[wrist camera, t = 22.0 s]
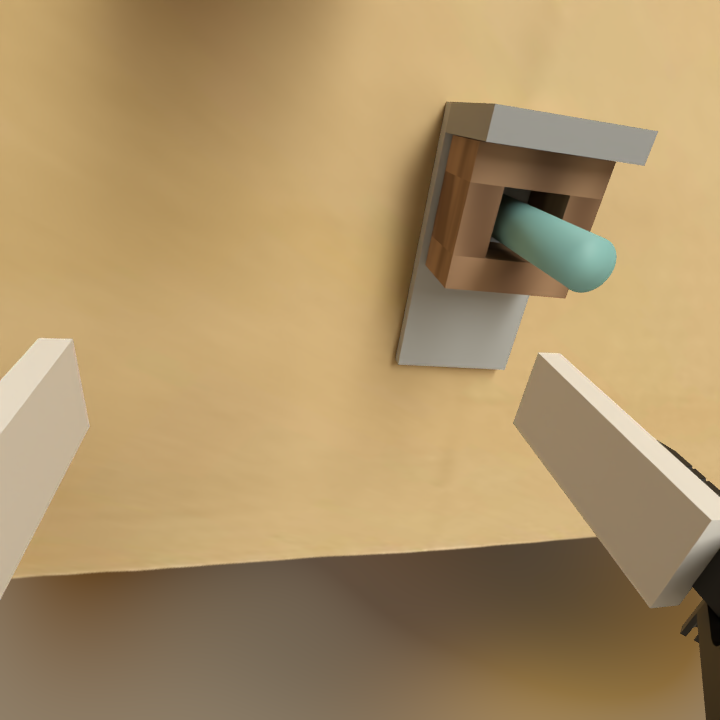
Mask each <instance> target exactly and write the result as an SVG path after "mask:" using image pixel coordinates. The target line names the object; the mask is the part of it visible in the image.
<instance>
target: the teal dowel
mask: <svg viewBox="0 0 720 720" xmlns="http://www.w3.org/2000/svg"><path fill="white" fill-rule="evenodd" d="M491 237H493V238H494V239H496V240H497V241H499V242H500V243H502V244H503V245H505V246H506V247H508V248H509V249H511V250H512V251H514V252H515V253H516V254H518V255H519V256H521V257H522V258H524V259H525V260H527V261H528V262H530V263H531V264H533V265H534V266H536V267H537V268H539V269H540V270H542V271H543V272H545V273H546V274H548V275H549V276H551V277H552V278H554V279H555V280H557V281H558V282H560V283H561V284H562V285H564V286H565V287H567V288H568V289H570V290H572V291H574V292H580V293H582V292H588V291H591V290H594V289H596V288H597V287H599V286H600V285H602V284H603V283H604V282H605V281H606V280H607V279H608V277H609V276H610V275H611V273H612V271H613V269H614V267H615V263H616V250H615V248H614V246H613V244H612V243H611V242H610V241H608V240H607V239H605V238H602V237H600V236H598V235H596V234H593V233H591V232H589V231H587V230H584V229H582V228H580V227H578V226H575V225H573V224H571V223H569V222H566V221H564V220H562V219H560V218H557V217H555V216H553V215H551V214H548V213H546V212H544V211H542V210H539V209H537V208H535V207H533V206H530V205H528V204H526V203H524V202H521V201H519V200H517V199H515V198H512V197H510V196H508V195H505V194H503V195H502V199H501V202H500V206H499V210H498V213H497V217H496V221H495V224H494V228H493V232H492V235H491Z"/></svg>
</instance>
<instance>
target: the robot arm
mask: <svg viewBox="0 0 720 720" xmlns="http://www.w3.org/2000/svg"><path fill="white" fill-rule="evenodd" d="M513 424H514V425H515V427H516V428H517V429H518V431H519V432H520V433H521V435H522V436H523V437H524V439H525V440H526V441H527V443H528V444H529V445H530V447H531V448H532V449H533V451H534V452H535V454H536V455H537V456H538V458H539V459H540V460H541V462H542V463H543V464H544V466H545V467H546V468H547V470H548V471H549V472H550V474H551V475H552V476H553V478H554V479H555V480H556V482H557V483H558V485H559V486H560V487H561V489H562V490H563V491H564V493H565V494H566V495H567V497H568V498H569V499H570V501H571V502H572V503H573V505H574V506H575V507H576V509H577V510H578V512H579V513H580V514H581V516H582V517H583V518H584V520H585V521H586V522H587V524H588V525H589V526H590V528H591V529H592V530H593V532H594V533H595V534H596V536H597V537H598V538H599V540H600V541H601V542H602V544H603V545H604V546H605V548H606V549H607V551H608V552H609V553H610V555H611V556H612V557H613V559H614V560H615V561H616V563H617V564H618V565H619V567H620V568H621V569H622V571H623V572H624V574H625V575H626V576H627V578H628V579H629V580H630V582H631V583H632V584H633V586H634V587H635V588H636V590H637V591H638V592H639V594H640V595H641V597H642V598H643V599H644V601H645V602H646V603H647V604H648V606H649V607H650V608H657V607H666V606H675V605H680V603H681V602H682V600H683V599H684V598H685V596H686V595H687V594H688V592H689V591H690V590H691V588H692V587H693V588H694V589H695V590H696V591H697V592H698V594H699V595H700V596H701V597H702V598H703V600H702V601H701V603H700V604H699V605H698V607H697V608H696V609H695V611H694V612H693V613H692V614H691V616H690V617H689V618H688V619H687V621H686V622H685V623H684V624H683V626H682V629H681V634H682V635H684V636H686V635H687V634H688V633H689V632H690V631H691V629H692V628H693V627H698V635H697V636H696V638H695V639H694V640H695V641H696V642H698V643H699V647H700V658H701V668H702V679H703V691H704V701H705V713H706V720H720V490H719V489H718V488H717V487H715V486H714V485H713V484H712V483H711V482H710V481H706V478H705V477H704V476H703V475H702V474H701V473H700V472H698V471H697V470H696V469H693V468H692V465H691V464H689V463H688V462H687V461H686V460H685V459H684V458H683V457H681V456H680V455H679V454H678V453H677V452H676V451H674V450H673V449H671V448H669V447H668V446H666V445H664V444H663V443H661V442H659V441H658V440H656V439H655V438H654V437H652V436H651V435H650V434H649V433H648V432H647V431H646V430H645V429H644V428H642V427H641V426H640V425H639V424H638V423H637V422H636V421H635V420H634V419H632V418H631V417H630V416H629V415H628V414H627V413H626V412H625V411H624V410H622V409H621V408H620V407H619V406H618V405H617V404H616V403H615V402H614V401H612V400H611V399H610V398H609V397H608V396H607V395H606V394H605V393H604V392H602V391H601V390H600V389H599V388H598V387H597V386H596V385H595V384H593V383H592V382H591V381H590V380H589V379H588V378H587V377H586V376H585V375H583V374H582V373H581V372H580V371H579V370H578V369H577V368H576V367H575V366H573V365H572V364H571V363H570V362H569V361H568V360H567V359H566V358H565V357H563V356H562V355H561V354H560V353H538V355H537V357H536V360H535V363H534V366H533V369H532V371H531V374H530V377H529V380H528V383H527V386H526V388H525V391H524V394H523V397H522V400H521V402H520V405H519V408H518V411H517V414H516V416H515V419H514V422H513ZM89 427H90V425H89V420H88V415H87V410H86V405H85V399H84V394H83V389H82V384H81V379H80V374H79V368H78V363H77V358H76V353H75V348H74V342H73V339H56V338H38V339H37V340H36V342H35V343H34V344H33V345H32V346H31V347H30V348H29V349H28V350H27V352H26V353H25V354H24V355H23V356H22V357H21V358H20V359H19V360H18V362H17V363H16V364H15V365H14V366H13V367H12V368H11V369H10V370H9V372H8V373H7V374H6V375H5V376H4V377H3V378H2V379H1V380H0V599H1V597H2V595H3V593H4V591H5V590H6V588H7V585H8V584H9V582H10V580H11V578H12V576H13V574H14V572H15V570H16V568H17V566H18V564H19V562H20V560H21V559H22V557H23V555H24V553H25V551H26V549H27V547H28V545H29V543H30V541H31V539H32V537H33V535H34V533H35V531H36V529H37V527H38V526H39V524H40V522H41V520H42V518H43V516H44V514H45V512H46V510H47V508H48V506H49V504H50V502H51V500H52V498H53V496H54V495H55V493H56V491H57V489H58V487H59V485H60V483H61V481H62V479H63V477H64V475H65V473H66V471H67V469H68V467H69V465H70V463H71V462H72V460H73V458H74V456H75V454H76V452H77V450H78V448H79V446H80V444H81V442H82V440H83V438H84V436H85V434H86V432H87V431H88V429H89Z"/></svg>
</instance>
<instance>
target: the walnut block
mask: <svg viewBox="0 0 720 720" xmlns="http://www.w3.org/2000/svg"><path fill="white" fill-rule="evenodd" d="M615 163H616V162H614V161H609V160H604V159H597V158H590V157H584V156H577V155H571V154H564V153H557V152H551V151H544V150H538V149H531V148H524V147H518V146H511V145H505V144H498V143H491V142H485V141H481V140H477V139H472V138H468V137H463V136H457V135H453V136H452V141H451V146H450V150H449V155H448V160H447V165H446V169H445V174H444V179H443V184H442V188H441V193H440V198H439V203H438V207H437V212H436V217H435V221H434V226H433V231H432V236H431V240H430V245H429V250H428V255H427V259H426V264H425V265H426V266H427V268H428V269H429V270H430V271H431V272H432V273H433V275H434V276H435V277H436V278H437V279H438V281H439V282H440V283H441V284H442V285H443V286H444V288H448V289H460V290H471V291H483V292H495V293H507V294H519V295H531V296H543V297H555V298H566V295H567V292H568V290H569V289H568V288H567V287H565V286H564V285H562V284H561V283H560V282H558V281H557V280H555V279H554V278H552V277H551V276H549V275H548V274H546V273H545V272H543V271H542V270H540V269H539V268H537V267H536V266H534V265H533V264H531V263H530V262H528V261H527V260H525V259H524V258H522V257H521V256H519V255H518V254H516V253H515V252H514V251H512V250H511V249H509V248H508V247H506V246H505V245H503V244H502V243H497V242H490V239H491V235H492V232H493V228H494V224H495V221H496V217H497V213H498V210H499V206H500V202H501V199H502V195H503V191H504V187H510V188H518V189H525V190H531V193H530V197H529V200H528V203H527V204H528V205H530V206H533V207H535V208H537V209H539V210H542V211H544V212H546V213H548V214H551V215H553V216H555V217H557V218H560V219H562V220H564V221H566V222H569V223H571V224H573V225H575V226H578V227H580V228H582V229H584V230H587V231H589V232H590V230H591V228H592V225H593V222H594V220H595V217H596V214H597V212H598V209H599V206H600V204H601V201H602V198H603V195H604V193H605V190H606V187H607V185H608V182H609V179H610V177H611V174H612V171H613V169H614V166H615Z"/></svg>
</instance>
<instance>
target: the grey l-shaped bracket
mask: <svg viewBox="0 0 720 720" xmlns="http://www.w3.org/2000/svg"><path fill="white" fill-rule="evenodd" d="M657 133H658V131H653V130H647V129H641V128H635V127H629V126H623V125H617V124H611V123H605V122H599V121H594V120H588V119H582V118H576V117H570V116H564V115H558V114H552V113H546V112H540V111H534V110H529V109H523V108H517V107H511V106H505V105H499V104H486V103H463V102H446V107H445V112H444V117H443V122H442V127H441V132H440V137H439V142H438V147H437V152H436V157H435V162H434V167H433V172H432V177H431V183H430V188H429V193H428V198H427V203H426V208H425V213H424V218H423V223H422V228H421V233H420V238H419V243H418V248H417V253H416V258H415V263H414V268H413V273H412V278H411V283H410V288H409V293H408V298H407V303H406V308H405V313H404V318H403V323H402V328H401V333H400V338H399V343H398V348H397V353H396V361H397V363H398V365H418V366H438V367H459V368H479V369H499V370H505V367H506V364H507V361H508V358H509V355H510V352H511V349H512V346H513V343H514V340H515V337H516V334H517V331H518V328H519V325H520V322H521V319H522V316H523V313H524V310H525V307H526V304H527V301H528V298H529V295H519V294H507V293H495V292H483V291H471V290H460V289H448V288H444V286H443V285H442V284H441V283H440V282H439V281H438V279H437V278H436V277H435V276H434V275H433V273H432V272H431V271H430V270H429V269H428V268H427V266H426V265H425V264H426V259H427V255H428V250H429V245H430V240H431V236H432V231H433V226H434V221H435V217H436V212H437V207H438V203H439V198H440V193H441V188H442V184H443V179H444V174H445V169H446V165H447V160H448V155H449V150H450V146H451V141H452V136H453V135H457V136H463V137H468V138H472V139H477V140H481V141H485V142H491V143H498V144H505V145H511V146H518V147H524V148H531V149H538V150H544V151H551V152H557V153H564V154H571V155H577V156H584V157H590V158H597V159H604V160H610V161H617V162H623V163H630V164H637V165H643V166H645V163H646V161H647V158H648V156H649V153H650V151H651V148H652V145H653V143H654V140H655V138H656V135H657ZM530 193H531V190H525V189H518V188H510V187H504V191H503V194H505V195H508V196H510V197H512V198H515V199H517V200H519V201H521V202H524V203H526V204H527V203H528V200H529V197H530ZM490 242H497V243H500V242H499V241H497V240H496V239H494V238H493V237H491V239H490Z"/></svg>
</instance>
